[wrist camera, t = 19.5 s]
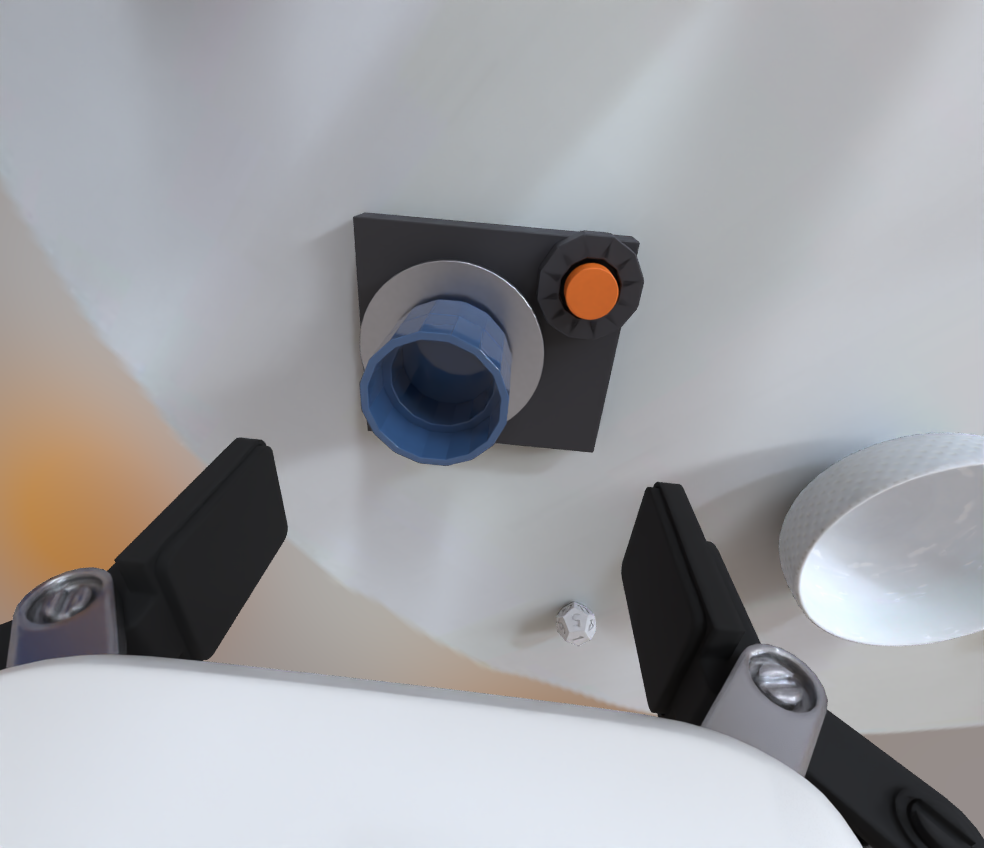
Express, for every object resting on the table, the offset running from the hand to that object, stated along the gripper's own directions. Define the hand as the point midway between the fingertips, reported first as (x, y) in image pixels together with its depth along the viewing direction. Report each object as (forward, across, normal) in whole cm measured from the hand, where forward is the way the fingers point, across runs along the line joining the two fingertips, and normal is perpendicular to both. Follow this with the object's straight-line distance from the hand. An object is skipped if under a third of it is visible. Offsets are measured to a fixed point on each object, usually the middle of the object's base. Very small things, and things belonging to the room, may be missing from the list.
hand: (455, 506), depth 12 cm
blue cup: (+17, +2, +3) cm, 17 cm away
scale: (+21, 0, +3) cm, 21 cm away
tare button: (+18, -5, -1) cm, 18 cm away
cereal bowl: (+21, -30, +13) cm, 39 cm away
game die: (+20, -10, +29) cm, 37 cm away
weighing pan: (+17, +2, +3) cm, 18 cm away
